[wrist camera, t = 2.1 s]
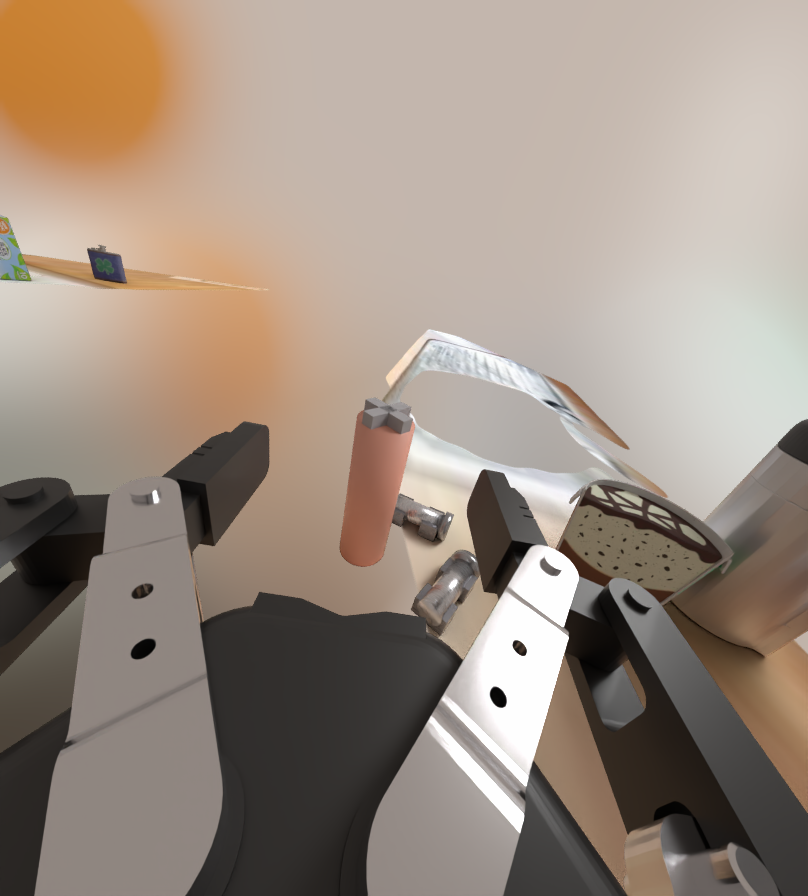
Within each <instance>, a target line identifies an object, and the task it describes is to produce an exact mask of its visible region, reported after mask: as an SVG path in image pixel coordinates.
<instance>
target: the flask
mask: <svg viewBox="0 0 808 896" xmlns="http://www.w3.org/2000/svg"><path fill="white" fill-rule="evenodd" d="M99 246H100V248H98V250H96V249H97V248H96V249H95V248H91V249H90V248H88V249H87V251H88V255H89V258H90V262H91V266H92V271H93V274H94V277H95V279H100V280H106V281H112V282H118V283H127V281H126V277H125V273H124V269H123V265H122V260H121V256H120V255H119V254H115V253H109V252H106V251H105V248H106V247H105V246H101V245H99Z"/></svg>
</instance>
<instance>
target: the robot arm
mask: <svg viewBox="0 0 808 896" xmlns="http://www.w3.org/2000/svg"><path fill="white" fill-rule="evenodd" d="M268 468H269V429H268V427H267V426H266V425H261V424H256V423H250V422H243V423H241V424H240V425H239V426H238V427H237V428H235V429H234V430H233V431H232V432H231V433H230V432H224V433H221V434H219V435H216V436H214V437H211V438H210V439H209V440H207V441H206V442H205V443H204V444H202V445H201V447H199V448H197V449H196V450H195V451H194V452H193V453H192V454H190V455H189V456H187V457H186V458H185V459H183V460H182V461H181V462H180V463H178V464H177V465H176V466H175V467H173V468H172V469H171V470H170V471H168V472H167V473H166V474H164V476H162V477H145V478H140V479H136V480H133V481H130V482H128V483H125V484H123V485H121V486H120V487H118V488H117V489H115V490H114V491H113V492H112V493H111V494H107V495H75V496H74V494H73V491H72V489H71V487H70V485H69V483H67V482H66V481H65V480H62V479H58V478H33V479H27V480H22V481H18V482H14V483H11V484H7V485H4V486H2V487H0V568H1V567H3V566H4V565H5V564H7V563H8V562H9V561H11V562H12V564H13V565H14V567H15V569H16V571H15V572H13V573H12V574H11V575H10V576H8V577H7V578H6V579H5V580H3V581H2V582H1V583H0V675H1V674H2V673H3V672H4V671H5V670H6V669H7V668H8V667H9V666H10V665H11V664H12V663H13V662H14V661H15V660H16V659H17V658H18V657H19V655H21V654H22V653H23V652H24V651H25V649H27V648H28V647H29V645H30V644H31V643H32V642H33V641H34V640H35V639H36V638H37V637H38V636H39V635H40V634H41V633H42V632H43V631H44V630H45V629H46V628H47V627H48V626H49V625H50V624H51V623H52V622H53V621H54V620H55V619H56V618H57V617H58V616H59V615H60V614H61V613H62V612H63V611H64V610H65V608H66V607H67V606H68V605H69V604H70V603H71V602H72V601H73V600H74V599H75V598H76V597H77V596H78V595H79V594H80V593H81V592H82V591H83V590H84V589H85V588H86V587H87V586H88V587H87V596H86V603H85V610H84V618H83V626H82V634H81V641H80V649H79V656H78V664H77V672H76V679H75V688H74V695H73V702H72V707H70V708H69V709H67V710H66V711H64V712H63V713H61V714H60V715H58V716H57V717H55V718H53V719H52V720H50V721H49V722H47V723H46V724H44V725H43V726H41V727H40V728H38V729H36V730H35V731H34V732H32V733H30V734H29V735H27V736H26V737H24V738H23V739H21V740H20V741H18V742H17V743H15V744H13V745H12V746H11V747H9V748H7V749H6V750H4V751H3V752H1V753H0V896H808V813H807V812H806V811H805V809H804V808H803V806H802V805H801V804H800V802H799V801H798V799H797V798H796V796H795V795H794V794H793V792H792V791H791V789H790V788H789V786H788V785H787V784H786V782H785V781H784V779H783V778H782V776H781V775H780V774H779V772H778V771H777V769H776V768H775V766H774V765H773V764H772V762H771V761H770V759H769V758H768V756H767V755H766V754H765V752H764V751H763V749H762V748H761V747H760V745H759V744H758V742H757V741H756V739H755V738H754V737H753V735H752V734H751V732H750V731H749V729H748V728H747V727H746V725H745V724H744V722H743V721H742V719H741V718H740V717H739V715H738V714H737V712H736V711H735V709H734V708H733V707H732V705H731V704H730V702H729V701H728V699H727V698H726V697H725V695H724V694H723V692H722V691H721V689H720V688H719V687H718V685H717V684H716V682H715V681H714V680H713V678H712V677H711V675H710V674H709V672H708V671H707V670H706V668H705V667H704V665H703V664H702V662H701V661H700V660H699V658H698V657H697V655H696V654H695V652H694V651H693V650H692V648H691V647H690V645H689V644H688V642H687V641H686V640H685V638H684V637H683V635H682V634H681V632H680V631H679V630H678V628H677V627H676V625H675V624H674V623H673V621H672V620H671V618H670V617H669V615H668V614H667V613H666V611H665V610H664V608H663V607H662V606H661V604H660V603H659V602H658V601H657V600H656V598H655V597H653V596H652V595H651V594H650V593H649V592H648V591H647V590H645V589H644V588H642V587H641V586H639V585H638V584H636V583H634V582H632V581H629V580H627V579H623V578H614V579H612V580H611V581H610V582H609V583H608V584H607V585H606V586H605V587H603V586H601V585H598V584H596V583H594V582H591V581H589V580H587V579H584V578H582V577H580V576H578V573H577V571H576V569H575V567H574V565H573V564H572V563H571V562H570V560H568V559H567V558H566V557H565V556H564V555H563V554H561V553H560V552H558V551H557V550H555V549H553V548H550V547H548V545H547V543H546V541H545V539H544V537H543V535H542V533H541V531H540V529H539V527H538V525H537V523H536V520H535V519H533V517H534V516H533V514H532V512H531V510H529V506H528V504H527V502H526V500H525V498H524V497H523V496H522V495H521V494H520V493H519V492H518V491H517V490H516V489H515V488H511V487H510V485H509V483H508V481H507V479H506V477H505V475H504V473H500V472H495V471H490V470H485V469H484V470H482V471H481V473H480V475H479V477H478V480H477V482H476V485H475V487H474V489H473V492H472V494H471V497H470V499H469V502H468V507H467V518H468V522H469V527H470V531H471V535H472V540H473V544H474V549H475V553H476V558H477V562H478V567H479V571H480V576H481V580H482V585H483V589H484V592H489V593H495V594H497V595H498V599H499V600H498V602H497V604H496V605H495V607H494V609H493V610H492V612H491V614H490V616H489V617H488V619H487V621H486V622H485V624H484V626H483V627H482V629H481V631H480V632H479V634H478V636H477V637H476V639H475V641H474V643H473V644H472V646H471V648H470V649H469V651H468V653H467V654H466V656H465V658H464V659H463V660H462V659H461V658H460V656H459V655H458V654H457V653H456V652H455V651H454V650H453V649H451V648H450V647H449V646H448V645H447V644H445V643H444V642H443V641H441V640H440V639H438V638H437V637H435V636H433V635H432V634H429V633H427V632H426V618H424V617H417V616H411V615H405V614H398V613H392V612H379V613H369V614H359V615H350V616H341V615H338V614H336V613H333V612H331V611H329V610H326V609H324V608H322V607H320V606H317V605H315V604H313V603H311V602H308V601H306V600H304V599H301V598H295V597H288V596H282V595H275V594H268V593H262V592H259V594H258V596H257V598H256V600H255V602H254V604H253V606H247V607H242V608H238V609H233V610H230V611H227V612H224V613H221V614H219V615H216V616H214V617H211V618H210V619H207V620H206V621H204V619H203V613H202V608H201V601H200V595H199V589H198V583H197V577H196V571H195V564H194V558H193V553H192V552H193V551H194V549H195V548H196V547H197V546H198V544H204V545H211V546H215V545H216V543H217V542H218V541H219V539H220V538H221V536H222V535H223V534H224V532H225V531H226V530H227V528H228V527H229V526H230V524H231V523H232V522H233V520H234V519H235V517H236V516H237V515H238V514H239V512H240V511H241V509H242V508H243V507H244V505H245V504H246V503H247V501H248V500H249V499H250V497H251V496H252V495H253V493H254V492H255V491H256V489H257V488H258V486H259V485H260V484H261V482H262V481H263V480H264V478H265V476H266V474H267V472H268ZM703 522H704V523H705V524H706V525H707V526H709V527H710V528H711V529H712V530H713V531H715V532H716V533H717V534H718V535H719V536H720V537H721V538H722V539H723V540H724V541H725V542H726V543H727V545H728V546H729V547H730V548H731V550H732V551H733V553H734V555H733V556H732V557H731V560H732V562H731V564H730V565H729V567H728V568H727V570H726V572H725V573H724V574H723V573H721V572H720V570H719V568H718V567H717V568H715V569H714V570H713V571H711V572H710V573H708V574H707V575H706V576H704V577H703V578H701V579H700V580H698V581H697V582H696V583H694V584H693V585H691V586H690V587H688V588H687V589H686V590H684V591H683V592H681V593H680V594H679V595H677V596H676V597H674V598H673V599H671V601H672V602H673V603H674V604H675V605H676V606H677V607H678V608H679V609H680V610H681V611H682V612H684V613H685V614H686V615H687V616H688V617H689V618H691V619H692V620H693V621H695V622H696V623H697V624H699V625H700V626H701V627H703V628H705V629H706V630H708V631H709V632H711V633H713V634H714V635H716V636H718V637H720V638H722V639H724V640H726V641H728V642H731V643H733V644H736V645H739V646H744V647H748V648H752V649H754V650H756V651H757V652H759V653H761V654H762V655H764V656H769V655H770V654H772V653H774V652H775V651H777V650H778V649H780V648H781V647H783V646H785V645H786V644H788V643H789V642H791V641H793V640H794V639H796V638H797V637H799V636H800V635H802V634H804V633H805V632H807V631H808V419H807V420H804V421H801V422H800V423H798V424H796V425H795V426H794V427H793V428H792V429H791V430H790V431H789V432H788V433H787V434H786V435H785V436H784V437H783V438H782V439H781V440H780V441H779V442H778V444H776V446H775V447H774V448H773V449H772V450H771V451H770V452H769V453H768V454H767V455H766V456H765V457H764V458H763V459H762V460H761V462H759V463H758V464H757V465H756V466H755V468H754V469H753V470H752V471H751V472H750V473H749V474H748V475H747V476H746V477H745V478H744V479H743V480H742V481H741V482H740V483H739V484H738V485H737V487H736V488H735V489H734V490H733V491H732V492H731V493H730V494H729V495H728V496H727V497H726V498H725V499H724V500H723V501H722V502H721V503H720V504H719V505H718V506H717V507H716V508H715V509H714V510H713V512H712V513H711V514H710V515H709V516H708V517H707V518H706V519H705V520H704V521H703ZM563 654H565V656H566V659H567V662H568V665H569V668H570V671H571V674H572V676H573V679H574V682H575V685H576V688H577V691H578V694H579V696H580V699H581V702H582V705H583V708H584V711H585V714H586V716H587V719H588V722H589V725H590V728H591V731H592V734H593V736H594V739H595V742H596V745H597V748H598V751H599V754H600V756H601V759H602V762H603V765H604V768H605V771H606V774H607V776H608V779H609V782H610V785H611V788H612V791H613V794H614V796H615V799H616V802H617V805H618V808H619V811H620V814H621V816H622V819H623V822H624V825H625V828H626V831H627V834H628V836H627V839H626V842H625V848H624V858H625V866H626V871H627V873H626V875H625V877H624V890H625V891H624V890H623V888H622V887H621V885H620V884H619V882H618V881H617V879H616V878H615V877H614V875H613V874H612V872H611V871H610V869H609V868H608V867H607V865H606V864H605V862H604V861H603V859H602V858H601V857H600V855H599V854H598V852H597V851H596V849H595V848H594V847H593V845H592V844H591V842H590V841H589V839H588V838H587V837H586V835H585V834H584V832H583V831H582V829H581V828H580V827H579V825H578V824H577V822H576V821H575V819H574V818H573V816H572V815H571V814H570V812H569V811H568V809H567V808H566V806H565V805H564V804H563V802H562V801H561V799H560V798H559V796H558V795H557V794H556V792H555V791H554V789H553V788H552V786H551V785H550V784H549V782H548V781H547V779H546V778H545V776H544V775H543V774H542V772H541V771H540V769H539V768H538V766H537V765H536V763H535V762H534V761H533V759H534V755H535V752H536V748H537V745H538V741H539V738H540V734H541V731H542V727H543V724H544V720H545V717H546V713H547V710H548V706H549V703H550V700H551V696H552V693H553V689H554V686H555V682H556V679H557V675H558V672H559V668H560V665H561V661H562V658H563ZM628 659H629V661H630V663H631V665H632V667H633V669H634V671H635V672H636V674H637V676H638V678H639V680H640V682H641V684H642V686H643V688H644V691H645V695H646V708H645V710H644V708H643V706H642V704H641V702H640V700H639V697H638V695H637V693H636V691H635V689H634V687H633V685H632V683H631V681H630V679H629V677H628V675H627V673H626V671H625V669H624V667H623V665H622V664H623V663H624V662H625V661H627V660H628Z"/></svg>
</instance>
